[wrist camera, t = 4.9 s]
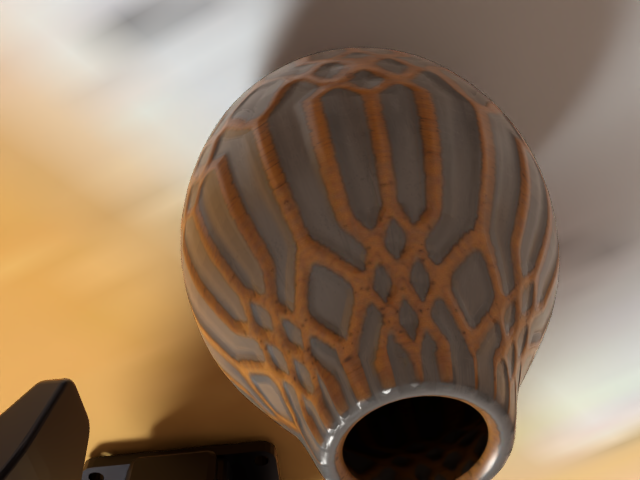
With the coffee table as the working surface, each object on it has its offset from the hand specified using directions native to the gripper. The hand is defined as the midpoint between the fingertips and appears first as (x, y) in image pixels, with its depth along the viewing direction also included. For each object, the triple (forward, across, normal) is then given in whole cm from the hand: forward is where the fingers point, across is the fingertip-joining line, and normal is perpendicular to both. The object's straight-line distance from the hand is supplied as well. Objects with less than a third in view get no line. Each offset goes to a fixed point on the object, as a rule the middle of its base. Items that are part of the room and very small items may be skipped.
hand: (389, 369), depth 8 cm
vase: (+7, 0, 0) cm, 7 cm away
